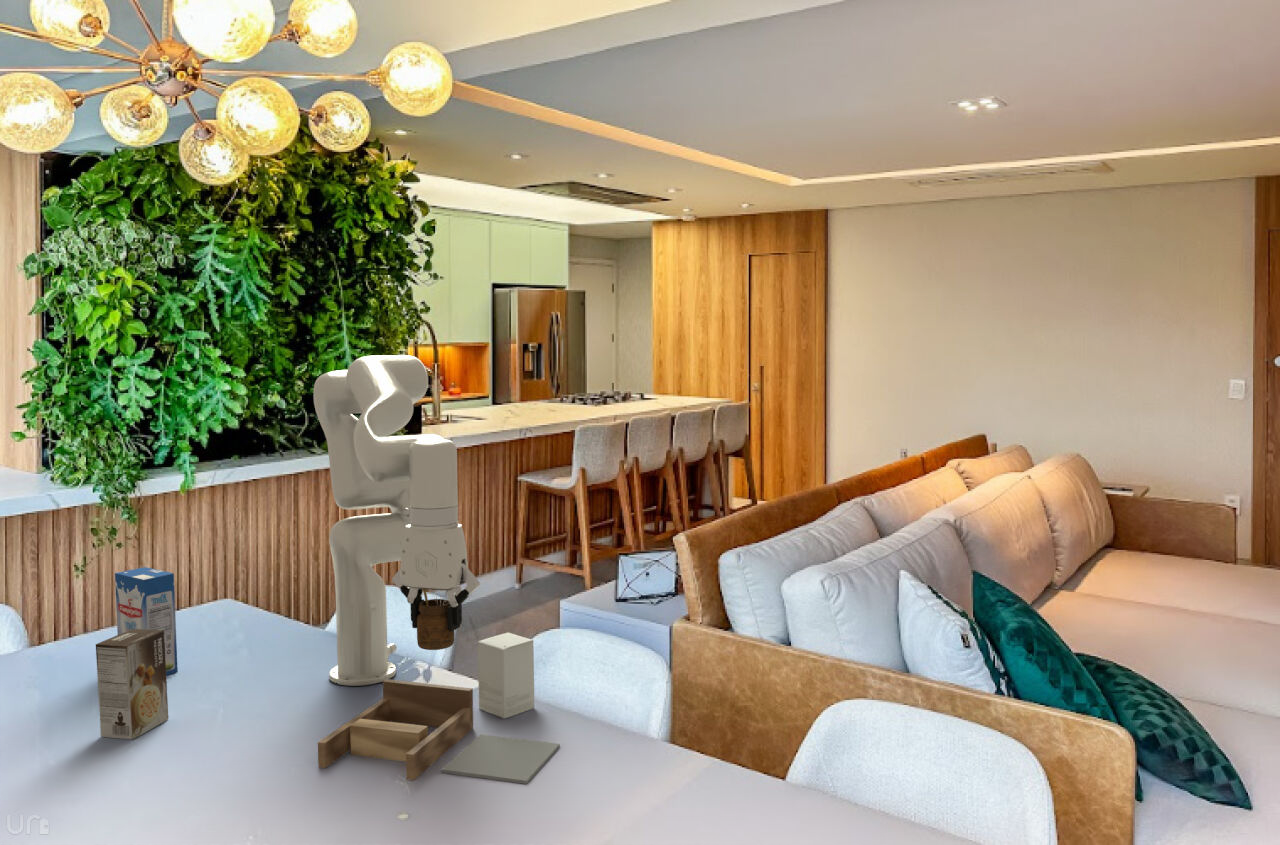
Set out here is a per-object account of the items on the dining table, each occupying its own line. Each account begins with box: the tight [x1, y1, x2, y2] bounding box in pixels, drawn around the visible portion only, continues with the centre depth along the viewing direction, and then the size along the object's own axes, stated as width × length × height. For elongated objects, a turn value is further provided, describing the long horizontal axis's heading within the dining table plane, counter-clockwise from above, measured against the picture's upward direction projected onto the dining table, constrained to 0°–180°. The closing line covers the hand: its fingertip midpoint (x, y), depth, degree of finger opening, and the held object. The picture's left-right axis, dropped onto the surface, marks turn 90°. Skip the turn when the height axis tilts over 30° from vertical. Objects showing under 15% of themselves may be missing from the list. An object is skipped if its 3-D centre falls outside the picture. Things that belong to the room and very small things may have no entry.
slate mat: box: [441, 733, 561, 785], centre depth 157 cm, size 14×14×1 cm
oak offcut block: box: [350, 719, 429, 762], centre depth 158 cm, size 3×12×5 cm, turn 75°
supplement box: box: [477, 632, 535, 719], centre depth 177 cm, size 7×7×13 cm
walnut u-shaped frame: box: [317, 678, 474, 781], centre depth 161 cm, size 21×16×7 cm
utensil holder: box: [416, 589, 455, 651], centre depth 160 cm, size 6×6×12 cm
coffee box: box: [95, 629, 169, 741], centre depth 168 cm, size 9×6×16 cm
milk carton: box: [114, 566, 179, 677], centre depth 196 cm, size 10×6×20 cm, turn 58°
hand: (436, 626), depth 160 cm, fingers closed on utensil holder, 5 cm apart
